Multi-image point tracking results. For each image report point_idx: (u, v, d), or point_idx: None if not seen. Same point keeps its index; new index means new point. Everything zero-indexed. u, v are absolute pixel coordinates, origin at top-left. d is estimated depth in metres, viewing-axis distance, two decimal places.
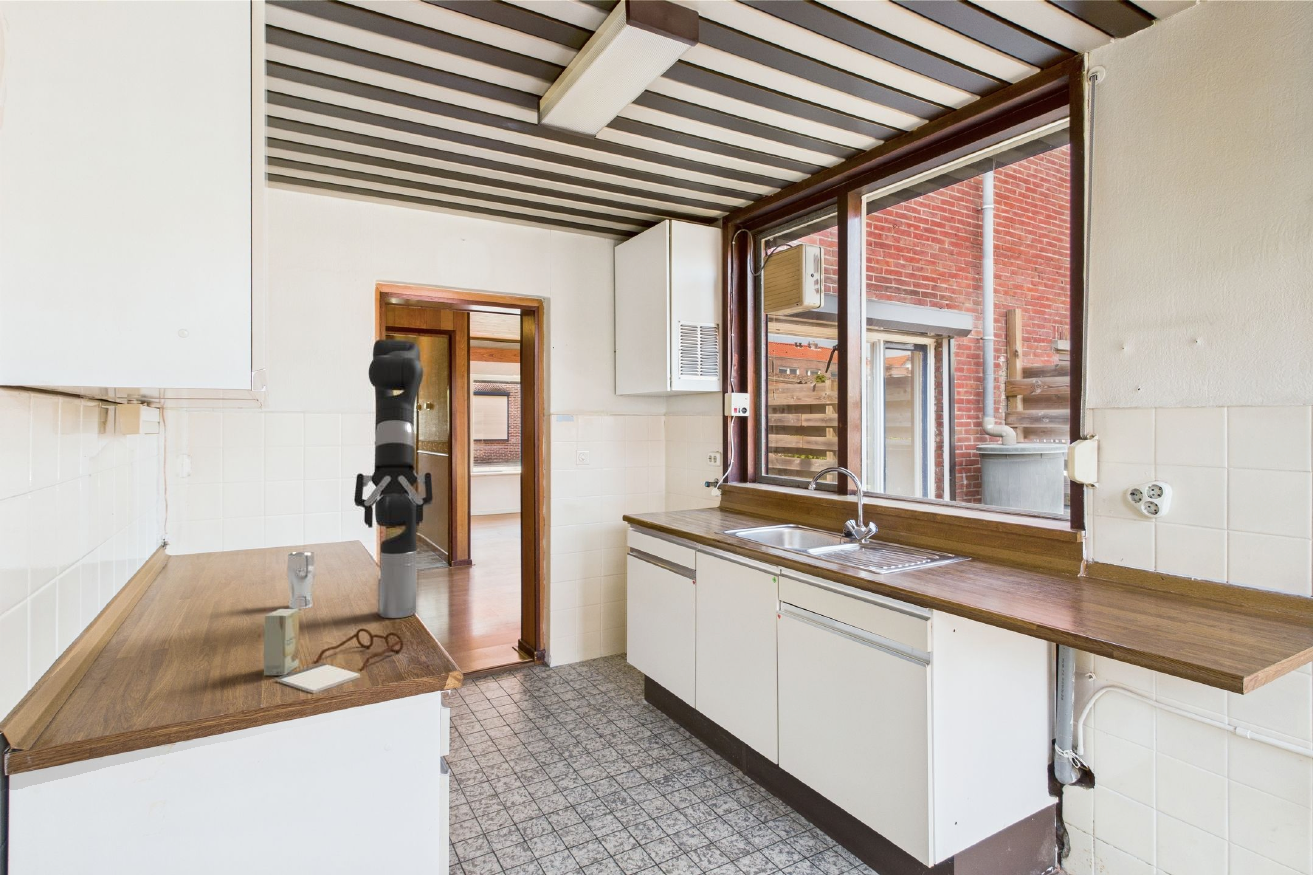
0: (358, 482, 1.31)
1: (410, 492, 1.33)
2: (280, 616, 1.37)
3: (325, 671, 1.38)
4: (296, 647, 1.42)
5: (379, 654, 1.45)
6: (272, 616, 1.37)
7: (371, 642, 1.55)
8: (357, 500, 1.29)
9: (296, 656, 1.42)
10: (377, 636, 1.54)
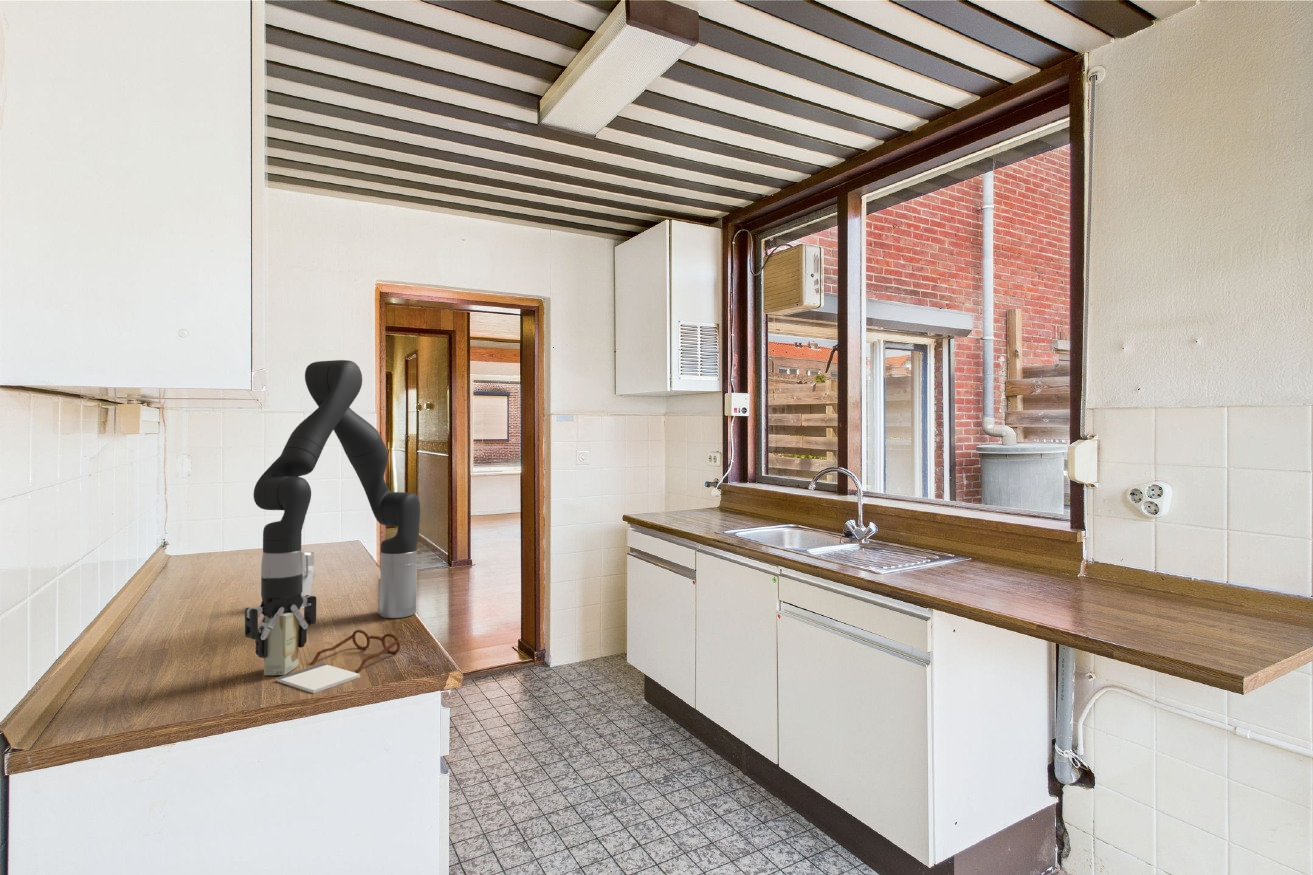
0: (253, 618, 1.34)
1: (299, 619, 1.42)
2: (280, 616, 1.37)
3: (325, 671, 1.38)
4: (296, 647, 1.42)
5: (376, 656, 1.44)
6: None
7: (367, 643, 1.54)
8: (254, 636, 1.34)
9: (296, 656, 1.42)
10: (373, 637, 1.53)
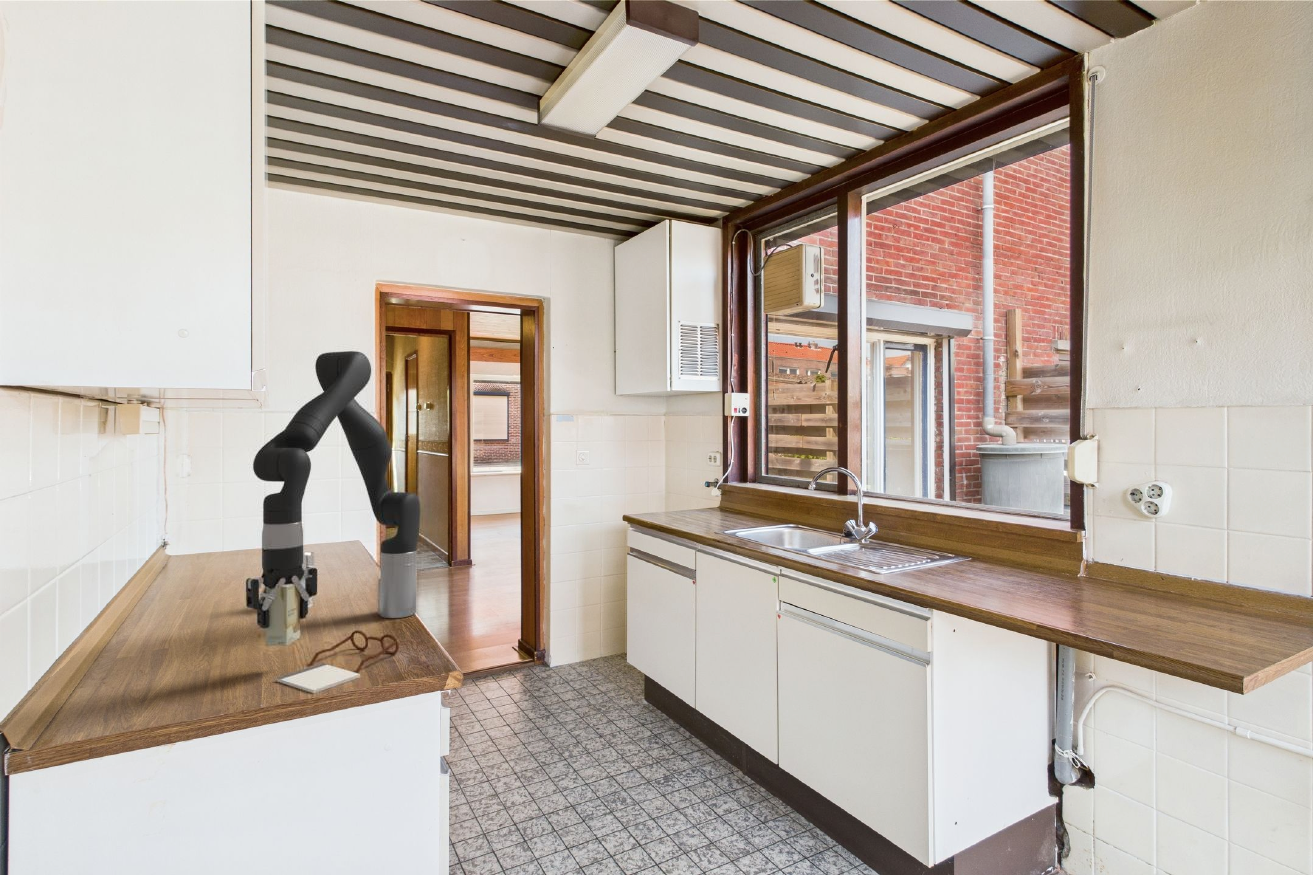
0: (254, 589, 1.34)
1: (300, 590, 1.42)
2: (281, 587, 1.38)
3: (325, 671, 1.38)
4: (298, 618, 1.42)
5: (374, 656, 1.44)
6: None
7: (366, 644, 1.53)
8: (256, 607, 1.34)
9: (298, 627, 1.42)
10: (372, 638, 1.52)
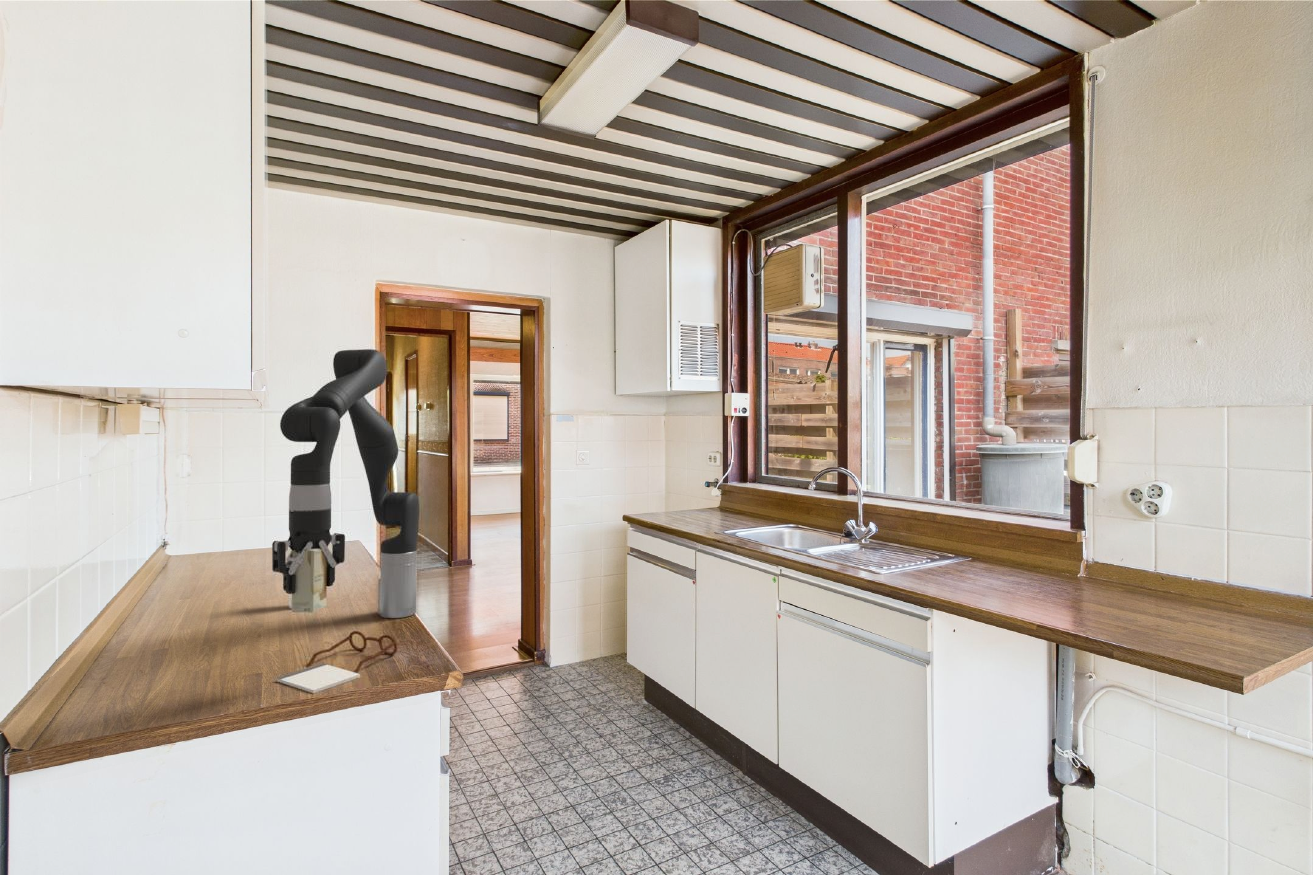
0: (281, 551, 1.29)
1: (328, 556, 1.36)
2: (308, 551, 1.32)
3: (325, 671, 1.38)
4: (324, 585, 1.37)
5: (372, 657, 1.43)
6: None
7: (364, 645, 1.53)
8: (282, 570, 1.29)
9: (324, 595, 1.37)
10: (370, 639, 1.52)
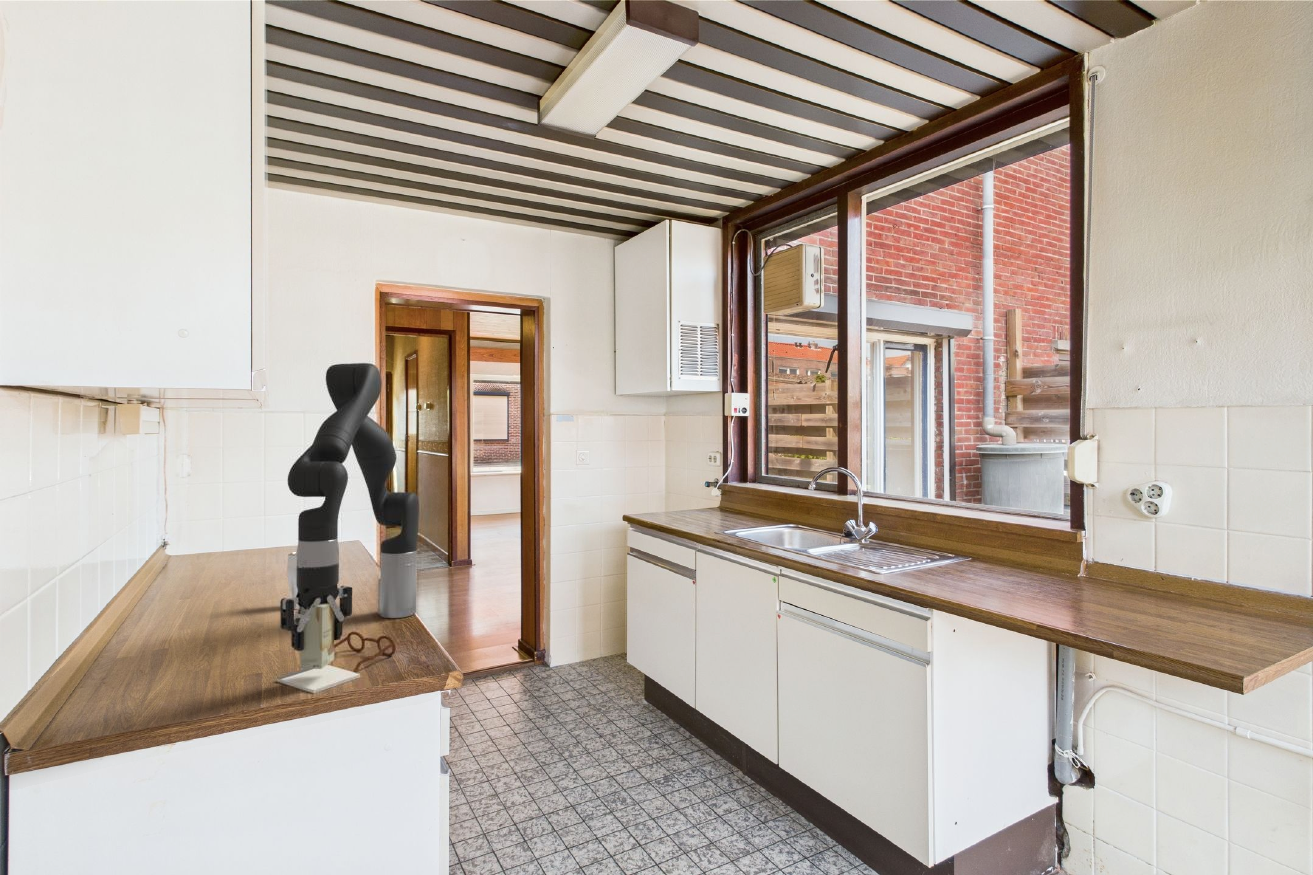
0: (290, 609, 1.28)
1: (335, 611, 1.36)
2: (316, 607, 1.31)
3: (325, 671, 1.38)
4: (332, 640, 1.36)
5: (371, 658, 1.43)
6: (308, 607, 1.31)
7: (362, 645, 1.52)
8: (291, 628, 1.28)
9: (332, 649, 1.36)
10: (369, 639, 1.51)
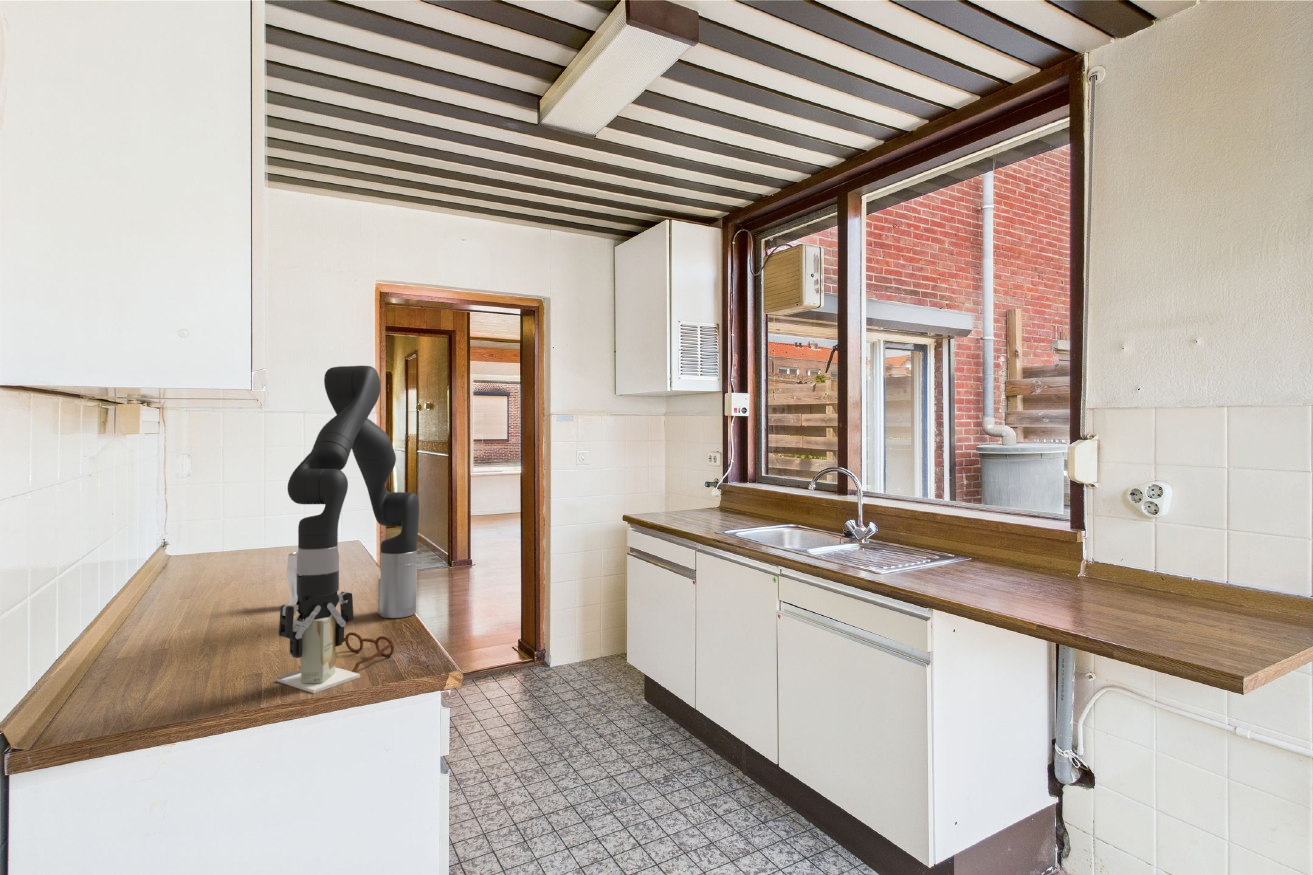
0: (289, 616, 1.28)
1: (336, 617, 1.36)
2: (318, 621, 1.32)
3: None
4: (333, 653, 1.36)
5: (369, 659, 1.42)
6: None
7: (361, 646, 1.52)
8: (289, 635, 1.28)
9: (333, 663, 1.36)
10: (367, 640, 1.51)
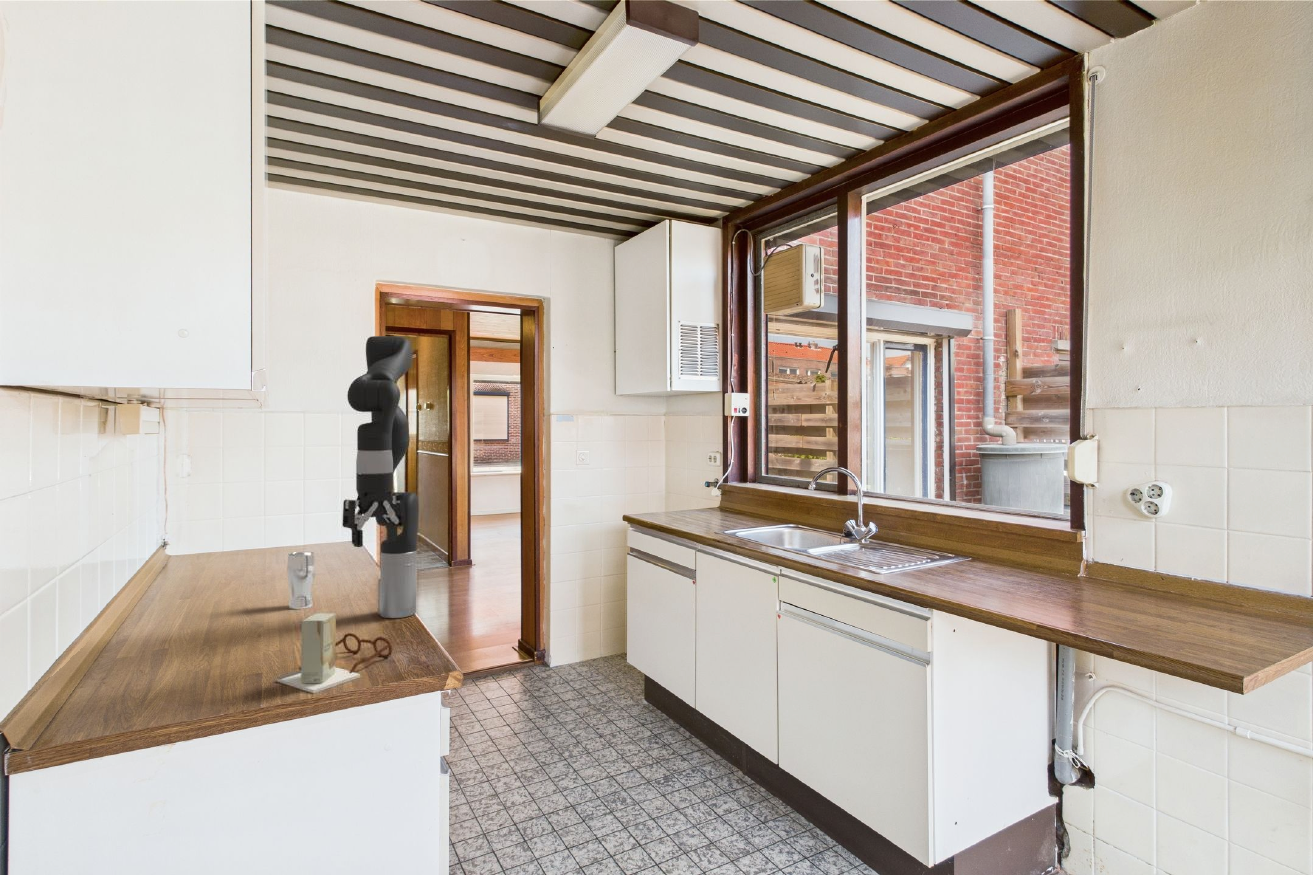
0: (352, 509, 1.43)
1: (391, 514, 1.51)
2: (318, 621, 1.32)
3: None
4: (333, 653, 1.36)
5: (367, 660, 1.42)
6: (309, 621, 1.32)
7: (359, 647, 1.51)
8: (352, 526, 1.43)
9: (333, 663, 1.36)
10: (365, 641, 1.50)
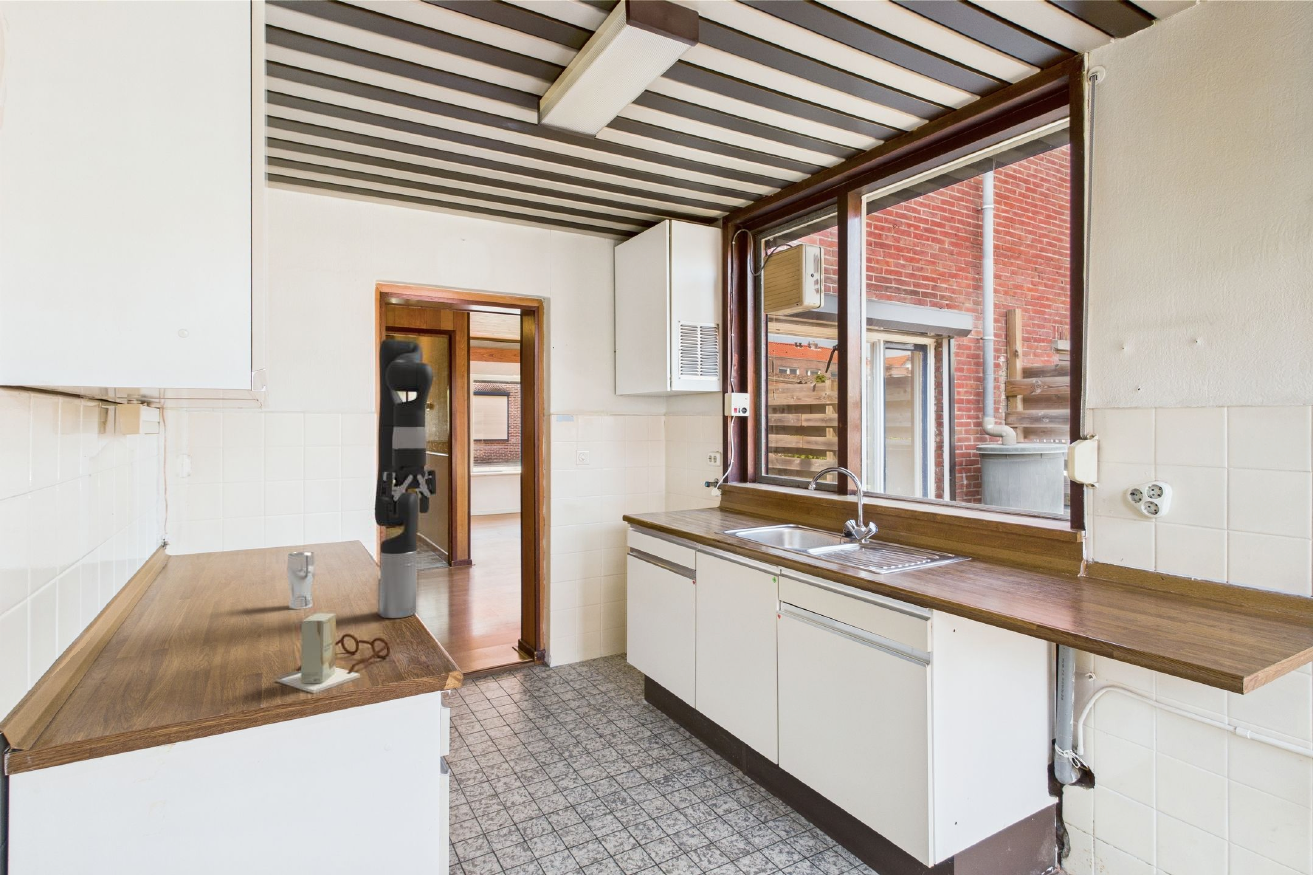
0: (389, 480, 1.54)
1: (424, 488, 1.62)
2: (318, 621, 1.32)
3: None
4: (333, 653, 1.36)
5: (365, 660, 1.41)
6: (309, 621, 1.32)
7: (356, 648, 1.51)
8: (389, 496, 1.54)
9: (333, 663, 1.36)
10: (363, 642, 1.50)
